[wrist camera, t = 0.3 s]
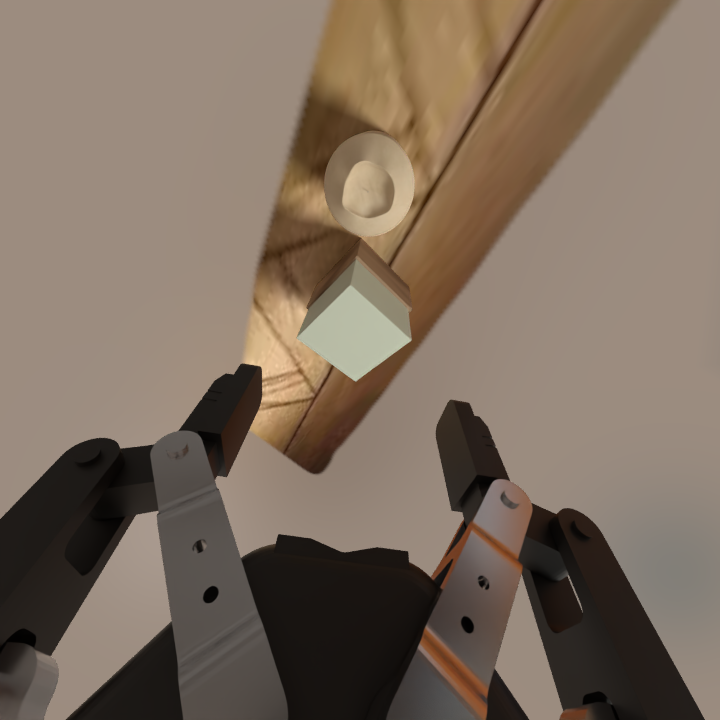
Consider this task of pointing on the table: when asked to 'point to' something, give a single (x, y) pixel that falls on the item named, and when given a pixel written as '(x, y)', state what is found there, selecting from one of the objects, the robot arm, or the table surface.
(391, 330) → the top block
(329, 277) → the base block
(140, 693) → the robot arm
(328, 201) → the candle
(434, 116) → the table surface
